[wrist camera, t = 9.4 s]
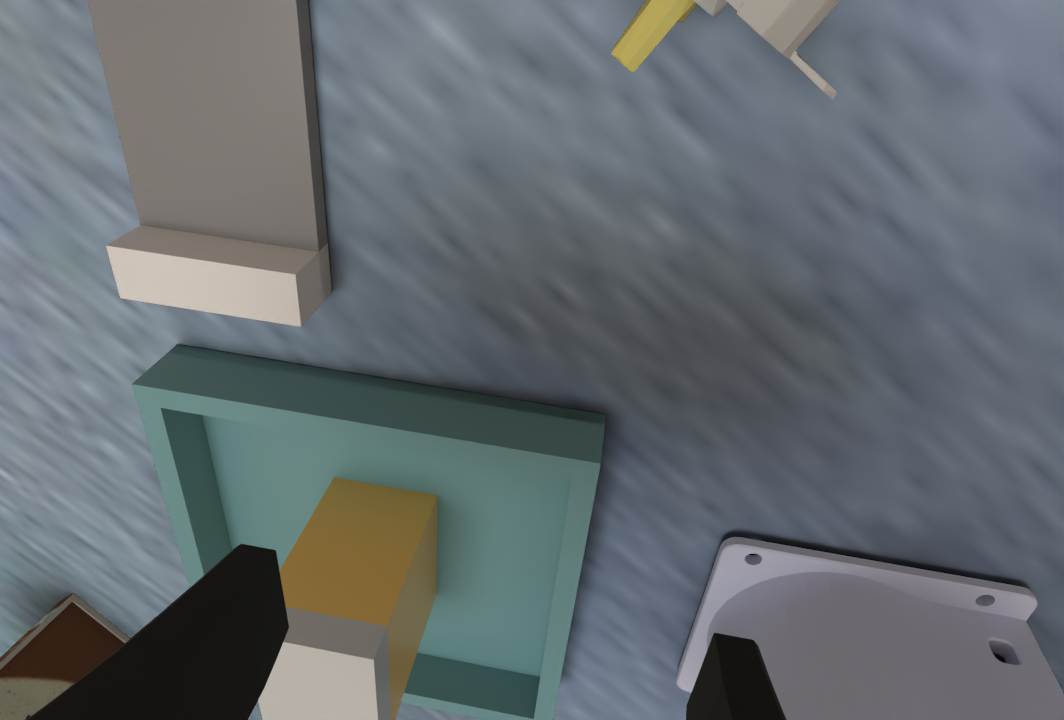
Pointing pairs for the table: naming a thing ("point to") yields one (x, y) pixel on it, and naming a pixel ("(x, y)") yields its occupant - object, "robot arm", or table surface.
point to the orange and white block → (355, 604)
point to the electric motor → (764, 3)
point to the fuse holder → (218, 155)
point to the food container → (54, 656)
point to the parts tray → (400, 462)
